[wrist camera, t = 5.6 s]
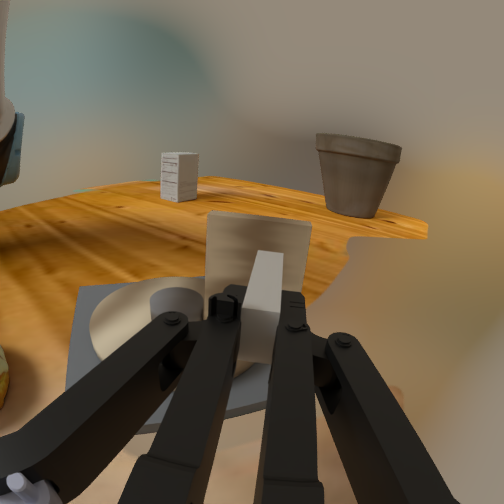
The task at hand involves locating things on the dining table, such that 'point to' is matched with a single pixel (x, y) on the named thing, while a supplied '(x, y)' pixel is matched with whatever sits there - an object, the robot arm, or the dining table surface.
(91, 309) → the dial plate
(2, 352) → the decorated donut
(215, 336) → the robot arm
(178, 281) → the dial
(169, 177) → the supplement box
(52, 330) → the dining table surface
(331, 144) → the plant pot
